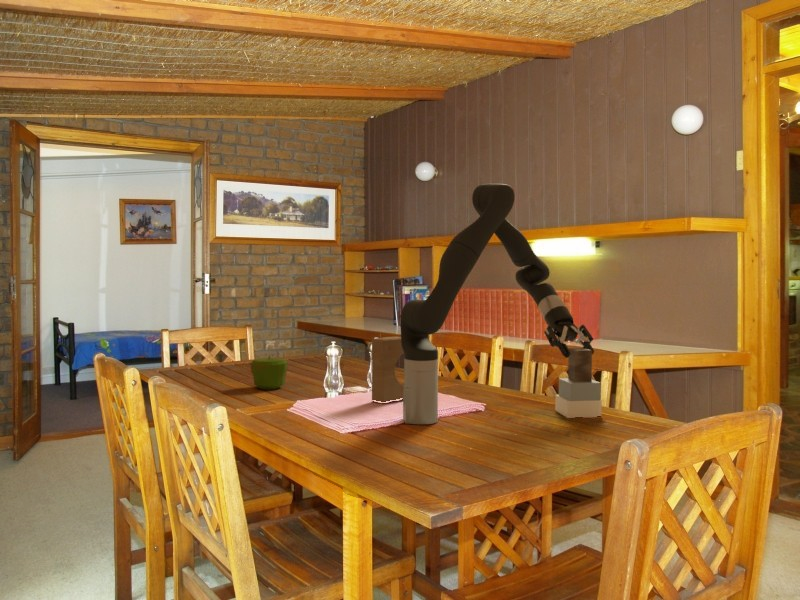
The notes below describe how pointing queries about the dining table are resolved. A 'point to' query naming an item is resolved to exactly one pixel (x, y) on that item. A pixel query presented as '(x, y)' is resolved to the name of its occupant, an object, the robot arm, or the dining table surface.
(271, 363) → the apple
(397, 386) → the decorative block
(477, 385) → the dining table surface
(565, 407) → the tower base
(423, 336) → the robot arm
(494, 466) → the dining table surface
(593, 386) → the tower top
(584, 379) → the oak pillar
